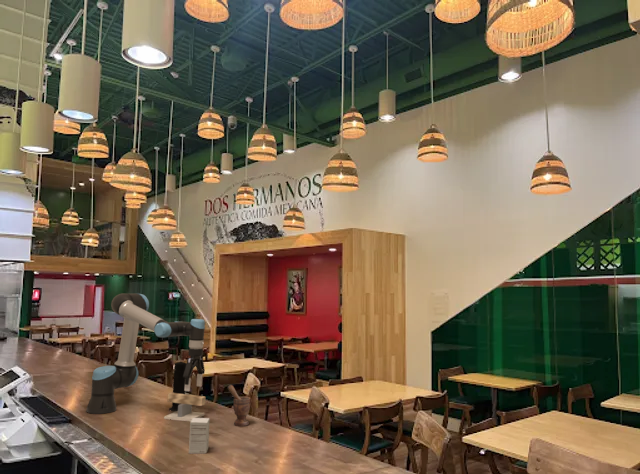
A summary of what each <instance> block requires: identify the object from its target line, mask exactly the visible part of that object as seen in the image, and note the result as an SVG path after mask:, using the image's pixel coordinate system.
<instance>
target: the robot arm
mask: <svg viewBox="0 0 640 474" xmlns="http://www.w3.org/2000/svg"><path fill="white" fill-rule="evenodd" d="M110 305H111V310H112V311H113V312H114V313H115V314H117V315H119V316H120V317H122V318H123V326H122V331H121V339H120V344H119V350H118V357H117V360H116V361H115V362H114V365H104V366H99V367H97V368H95V369H94V370H93V372H92V376H91V378H92V379H91V380H92V381H91V394H90V398H89V401H88V404H87V406H86V413H87V412H88V414H93V415H94V414H95V415H97V414H98V415H100V414H109V413H113V412H115V411H117V402H116V399H115V390H116V389H117V390H118V389H121V388H128V387H131V386H132V385H134V384H135V383H136V382H137V381H138V378H139V370H138V367H137V365H136V362H135V361H134V359H135V353H136V346H137V340H138V335H139V334H138V333H139V328H140V325H141V326H142V327H145V328H147V329H149V330H151V331H153V332H154V334H155V336H156V337H158V338H163V339H164V338H171V337H180V336H181V337H182V336H184V337H189V343H188V347H189V349H188V356H190V357H189V358H187V359H186V363H187V364H186V368H185V371H184V375H183V378H185V389H184V391H185V392H190V391H191V383H192V382H191V381H192V379H191V376H192V373H193V370H194V368H195V367H196V371H197V374H196V387H202V386H203V375H204V374H205V369H206V368H205V365H204V364H205V363H204V349H203V348H204V344H205V342H204V341H205V339H204V337H205V330H206V326H205V325H206V322H205V320H204V318H203V319H202V318H192V319H191V320H190V321H181V320H180V321H179V320H177V321H176V320H175V321H174V322H173V321H171V322H169V321H166V320H164V319H163V318H162V317H159V316H157V315H155V314H154V313H151V312H149V311H148V310H149V307H150V301H149V299H148V298H147V296H146V295H145V294H141V293H138V292H137V293H126V292H125V293H119V294H117V295H115V296H114V297H113V298H112V300H111V303H110Z"/></svg>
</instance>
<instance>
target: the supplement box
mask: <svg viewBox="0 0 640 474" xmlns="http://www.w3.org/2000/svg"><path fill="white" fill-rule="evenodd" d="M188 437H189V438H188V441H189V442H188V454H192V455H193V454H197V455H198V454H201V455H202V454H207V452H208V450H209V438H210V417H200V418H193V419H192V420H191V421H189V436H188Z"/></svg>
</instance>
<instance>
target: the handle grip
mask: <svg viewBox="0 0 640 474" xmlns="http://www.w3.org/2000/svg"><path fill="white" fill-rule="evenodd" d="M186 364H187V362H183V361H177V362H174V367H173V371H174V372H173V382H172V383H173V385H172V387H173V388H172V393H179V394H186V391H184V389H185V378H183V375H184V371H185V368H186ZM180 404H182V403H173V402H171V405H172V406H171V407H169V409H168V411H170V410H171V412H176V411H178V405H180Z"/></svg>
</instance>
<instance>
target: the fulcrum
mask: <svg viewBox="0 0 640 474" xmlns="http://www.w3.org/2000/svg"><path fill="white" fill-rule="evenodd" d="M204 416H205V412H197V411H196V412H195V411H193V405H190V404H180V405H178V411H172V413H169V414H167V415H165V416H164V417H163V419H164V420H170V419H171V420H173V421H183V422H184V421H185V422H191V420H192V419H193V418H203V417H204ZM171 420H170V421H171Z"/></svg>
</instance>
